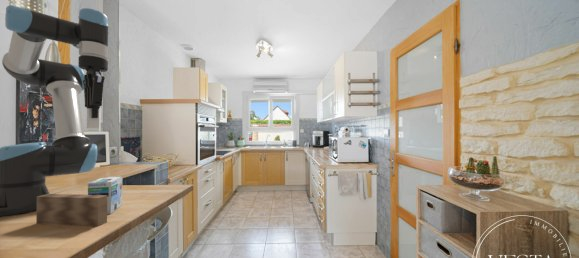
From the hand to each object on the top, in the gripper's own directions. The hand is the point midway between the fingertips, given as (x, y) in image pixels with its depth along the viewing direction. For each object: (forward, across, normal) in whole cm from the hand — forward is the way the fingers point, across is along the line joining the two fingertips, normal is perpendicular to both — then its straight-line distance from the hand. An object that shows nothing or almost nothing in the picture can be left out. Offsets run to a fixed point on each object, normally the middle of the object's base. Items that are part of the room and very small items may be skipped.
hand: (93, 128), depth 78 cm
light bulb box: (+29, -1, +4) cm, 29 cm away
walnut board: (+28, +5, -6) cm, 29 cm away
